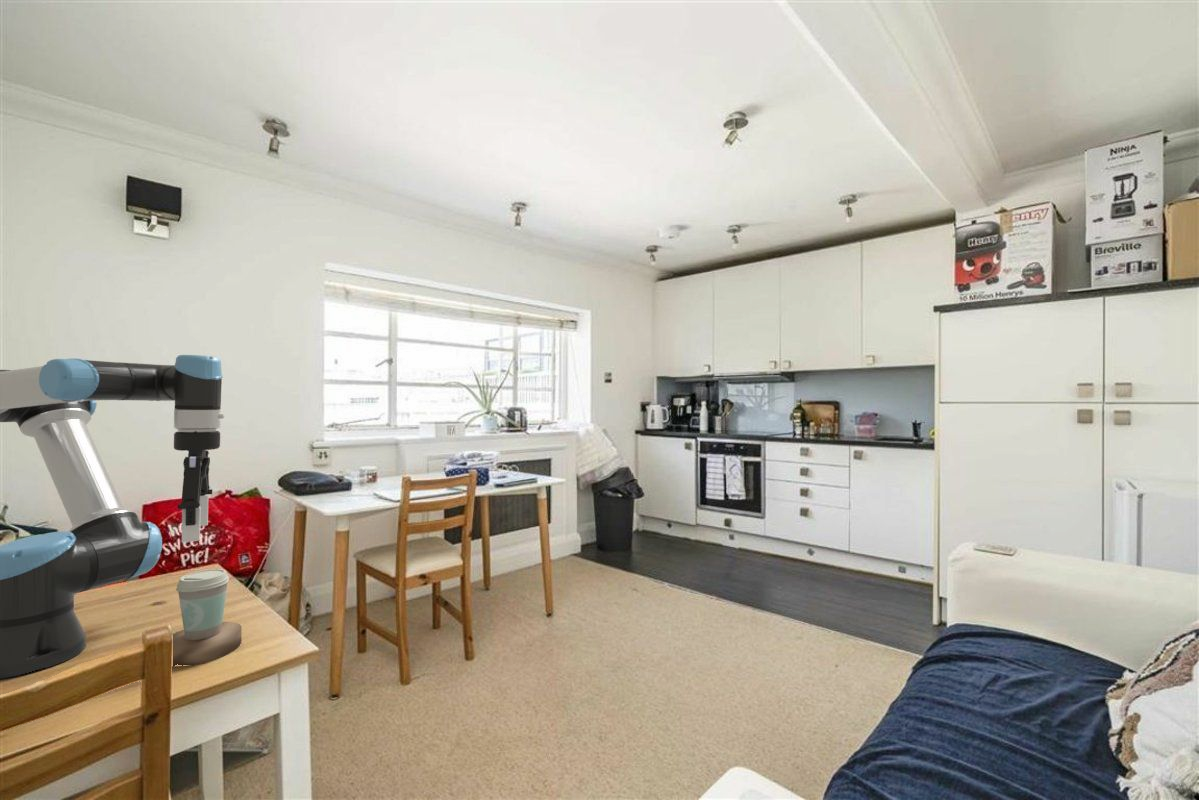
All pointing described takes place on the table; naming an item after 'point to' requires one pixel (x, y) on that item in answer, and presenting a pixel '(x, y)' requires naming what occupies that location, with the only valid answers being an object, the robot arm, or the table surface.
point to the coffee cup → (202, 602)
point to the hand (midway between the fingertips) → (195, 533)
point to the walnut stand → (206, 645)
